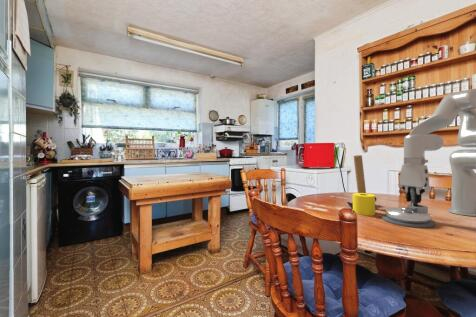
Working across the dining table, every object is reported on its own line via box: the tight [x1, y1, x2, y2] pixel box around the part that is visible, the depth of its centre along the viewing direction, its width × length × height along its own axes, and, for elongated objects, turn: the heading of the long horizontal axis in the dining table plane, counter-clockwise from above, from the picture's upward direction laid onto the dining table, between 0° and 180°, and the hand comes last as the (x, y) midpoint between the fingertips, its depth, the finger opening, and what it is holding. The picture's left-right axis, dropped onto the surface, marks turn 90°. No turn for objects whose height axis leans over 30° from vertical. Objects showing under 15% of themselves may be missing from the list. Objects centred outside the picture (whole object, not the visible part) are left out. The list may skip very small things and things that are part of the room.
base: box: [381, 213, 436, 229], centre depth 104 cm, size 19×19×1 cm
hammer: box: [346, 154, 378, 209], centre depth 130 cm, size 20×5×30 cm, turn 120°
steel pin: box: [409, 187, 419, 207], centre depth 105 cm, size 2×2×12 cm
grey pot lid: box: [385, 203, 431, 224], centre depth 104 cm, size 16×16×6 cm
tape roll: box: [352, 192, 376, 217], centre depth 118 cm, size 10×10×9 cm
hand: (413, 201), depth 106 cm, fingers closed on steel pin, 2 cm apart
